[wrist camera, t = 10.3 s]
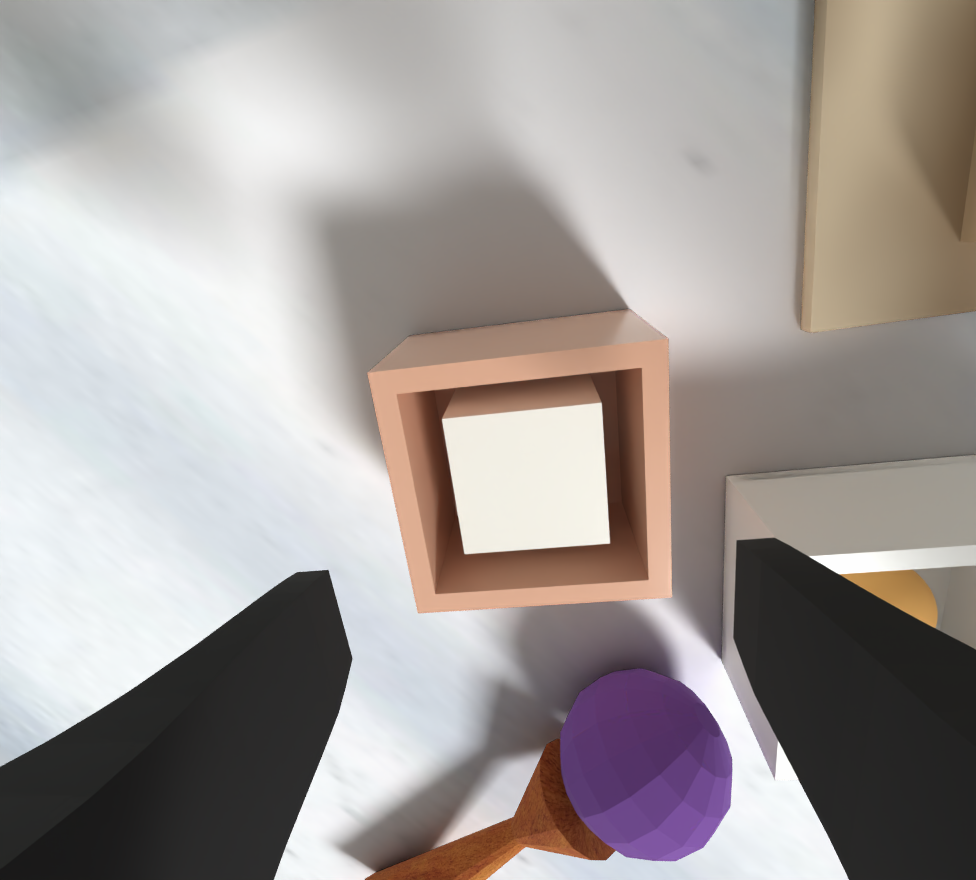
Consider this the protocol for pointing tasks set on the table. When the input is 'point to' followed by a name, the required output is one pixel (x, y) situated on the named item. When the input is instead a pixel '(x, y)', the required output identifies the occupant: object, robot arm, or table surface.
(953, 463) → the white open box
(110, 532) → the table surface
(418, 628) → the table surface
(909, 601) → the orange ball
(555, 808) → the kendama
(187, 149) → the table surface
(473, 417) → the white block
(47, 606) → the table surface
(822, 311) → the lid
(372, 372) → the salmon open box
